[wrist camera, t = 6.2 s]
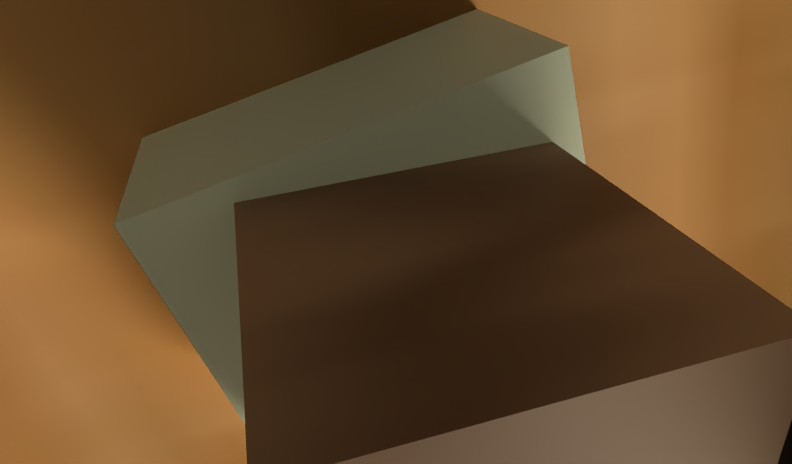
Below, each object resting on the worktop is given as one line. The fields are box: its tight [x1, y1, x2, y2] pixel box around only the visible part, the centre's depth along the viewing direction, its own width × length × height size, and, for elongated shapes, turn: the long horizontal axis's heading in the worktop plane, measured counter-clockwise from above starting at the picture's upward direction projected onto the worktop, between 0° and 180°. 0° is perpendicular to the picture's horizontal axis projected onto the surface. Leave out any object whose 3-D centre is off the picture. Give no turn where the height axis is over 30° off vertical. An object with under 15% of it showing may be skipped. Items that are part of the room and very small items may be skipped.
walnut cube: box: [234, 142, 792, 464], centre depth 8 cm, size 5×5×5 cm
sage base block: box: [114, 9, 586, 423], centre depth 12 cm, size 7×7×4 cm
